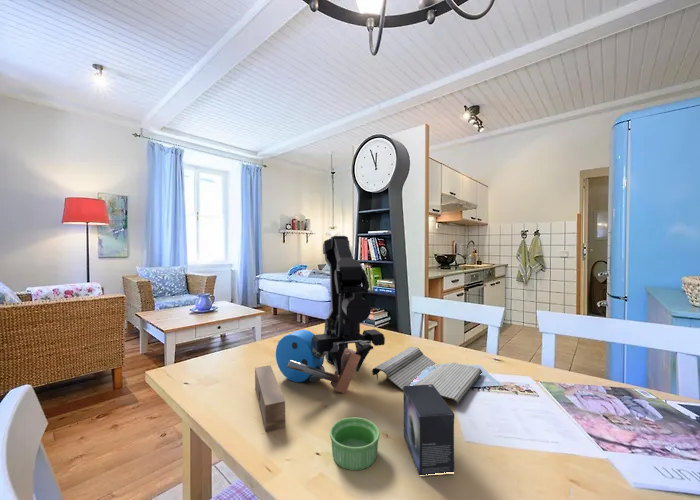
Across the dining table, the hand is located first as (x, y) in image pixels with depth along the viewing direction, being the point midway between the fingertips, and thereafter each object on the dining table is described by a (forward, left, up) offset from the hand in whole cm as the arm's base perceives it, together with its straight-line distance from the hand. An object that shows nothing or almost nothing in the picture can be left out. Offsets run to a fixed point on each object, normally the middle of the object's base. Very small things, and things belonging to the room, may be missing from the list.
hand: (347, 372), depth 79 cm
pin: (+9, 0, -1) cm, 9 cm away
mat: (-24, +3, -5) cm, 24 cm away
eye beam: (+20, 0, -4) cm, 21 cm away
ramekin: (+8, +23, -5) cm, 25 cm away
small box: (-4, +28, -5) cm, 29 cm away
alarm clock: (+14, -17, +3) cm, 22 cm away
